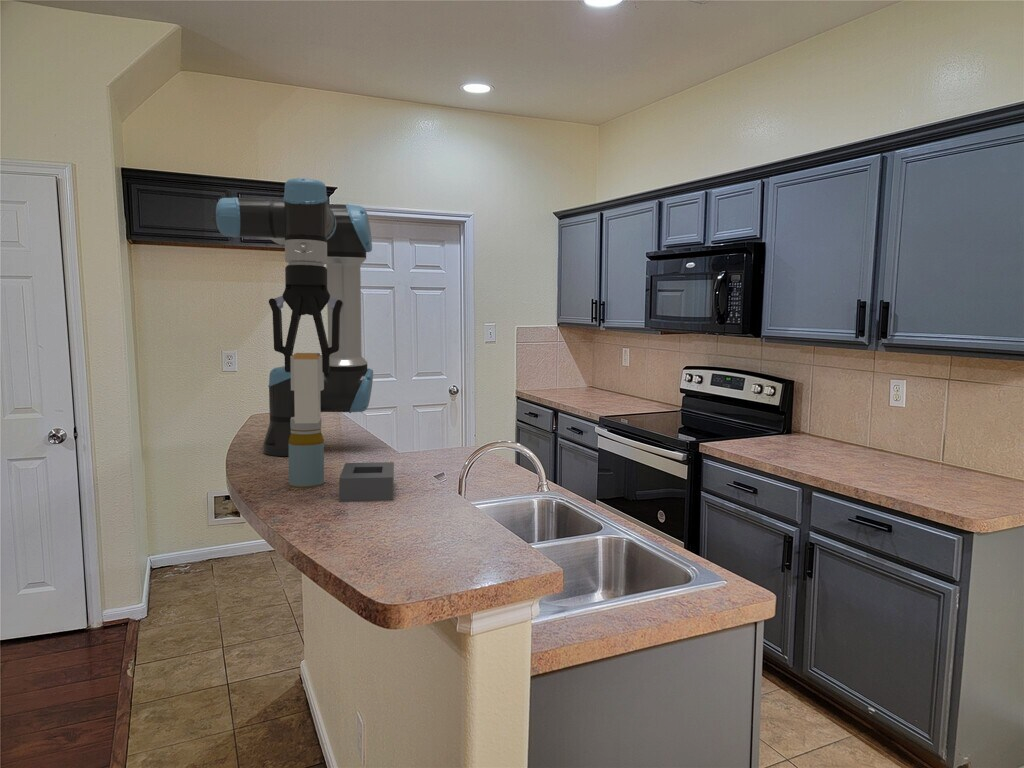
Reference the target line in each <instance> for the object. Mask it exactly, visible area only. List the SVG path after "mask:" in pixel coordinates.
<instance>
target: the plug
mask: <svg viewBox="0 0 1024 768" xmlns="http://www.w3.org/2000/svg"><path fill="white" fill-rule="evenodd" d="M293 355H294V405H295V423H319V421H320V420H321V421H322V417H321V413H322V412H321V408H320V391H318V356H319V355H321V353H320V352H296V353H293Z"/></svg>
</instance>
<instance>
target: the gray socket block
mask: <svg viewBox="0 0 1024 768" xmlns="http://www.w3.org/2000/svg"><path fill="white" fill-rule="evenodd" d="M394 464H395V463H394V462H393V461H390V462H389V461H386V462H384V461H383V462H382V461H381V462H380V461H379V462H377V461H376V462H345V463H344V465H343V469H342V471H341V473H340V475H339V478H338V479H339V480H338V481H339V482H338V488H339V489H338V490H339V491H338V493H339V496H338V497H339V501H338V503H350V502H351V503H352V502H354V503H355V502H356V503H357V502H388V501H389V502H390V501H392V502H393V501H394V488H395V487H394V486H395V485H394V484H395V480H394V479H395V478H394V477H395V475H394V474H395V468H394V467H395V465H394Z"/></svg>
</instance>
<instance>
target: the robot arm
mask: <svg viewBox="0 0 1024 768" xmlns="http://www.w3.org/2000/svg"><path fill="white" fill-rule="evenodd" d="M282 198H283V199H265V198H245V197H243V198H239V197H237V196H236V197H234V196H233V197H222V198H220V199H219V200H218V202H217V203H216V206H215V207H216V208H215V222H216V226H217V229H218V231H219V232H220V234H221V235H222V236H225V237H230V238H231V237H232V238H250V239H251V238H252V239H263V240H271V241H272V242H274V243H276V244H278V245H282V246H284V261H285V262H286V263H287V264H288V265H286V267H285V268H284V271H285V272H284V273H285V274H284V277H285V278H284V279H285V280H284V281H285V284H284V285H285V286H284V288H285V289H284V291H283V293H282V295H280V296H278V297H275V298H273V297H272V298H269V299H268V305H269V307H270V308H271V309H270V310H271V311H272V332H273V333H272V334H273V336H272V337H273V350H274V351H275V352H276V353H280V354H282V355H283V357H284V365H283V366H278V367H274V368H272V369H271V370H270V372H269V374H268V375H269V379H268V393H269V394H268V397H269V398H268V399H269V400H268V402H269V403H268V405H269V424H268V428H267V431H266V434H265V437H264V440H263V443H262V453H263V454H265V455H267V456H268V455H269V456H276V457H289V444H288V443H289V438H290V435H291V427H290V419H291V417H295V405H294V348H295V343H296V339H297V336H298V335H297V334H298V328H299V327H300V326H299V324H300V322H301V321H300V320H301V318H302V316H305V315H308V316H312V319H313V320H314V321H313V322H314V326H315V328H316V330H315V331H316V334H317V337H318V338H317V339H318V341H319V342H318V343H319V346H320V347H319V348H320V351H321V353H320V355H319V356H318V391H320V408H321V413H349V414H351V413H363V412H365V411H366V410H368V408H369V404H370V400H371V395H372V391H373V390H372V387H373V381H374V370H373V369H371V368H369V367H368V361H367V360H366V359H365V358H364V357H363V356H362V355H363V354H362V295H361V294H362V289H361V287H362V286H361V284H362V283H361V275H362V274H361V265H362V264H363V263H364V262H365V261H366V260H367V253H371V252H372V251H373V243H372V241H373V239H372V233H371V225H370V219H369V216H368V212H367V210H366V209H365V208H364V206H361V205H354V204H348V203H347V204H341V203H340V204H338V203H336V204H334V203H332V204H331V203H328V202H327V201H328V200H329V199H328V198H329V197H328V193H327V186H326V183H324V181H321V180H317V179H314V178H313V179H312V178H305V177H302V178H301V177H300V178H299V177H298V178H290V179H288V180H286V182H285V183H284V194H283V197H282ZM325 265H326V266H325ZM284 303H286V304H287V306H288V307H289V309H290V310H291V315H290V316H291V317H290V322H289V327H288V332H287V336H286V341H285V345H284V341H283V338H284V337H283V319H282V318H283V315H282V309H283V308H284ZM325 307H327V311H326V312H327V333H326V330H325V325H324V321H323V316H322V311H323V310H324V308H325Z"/></svg>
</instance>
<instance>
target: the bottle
mask: <svg viewBox="0 0 1024 768" xmlns="http://www.w3.org/2000/svg"><path fill="white" fill-rule="evenodd" d="M290 427H291V435H290V438H289V443H288V444H289V456H288V485H289V487H292V488H296V489H309V488H310V489H311V488H317V487H320V486H323V485H324V484H325V449H324V448H325V447H324V446H325V442H324V440H325V439H324V437H323V434H322V419H321V420H320V421H319V423H295V417H291V419H290Z"/></svg>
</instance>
